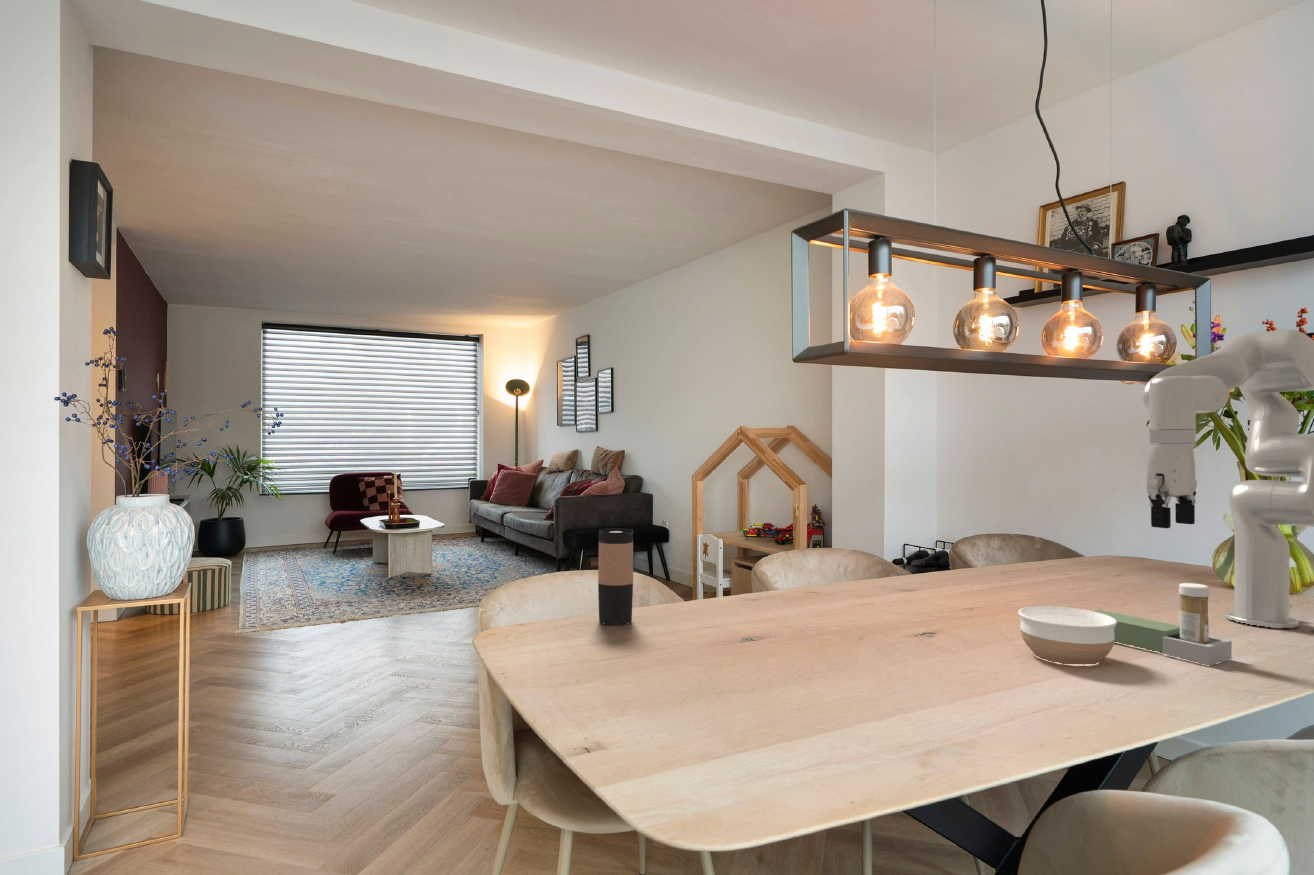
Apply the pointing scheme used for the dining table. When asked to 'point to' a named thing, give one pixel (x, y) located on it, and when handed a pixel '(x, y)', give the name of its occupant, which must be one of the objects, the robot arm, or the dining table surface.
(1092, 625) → the bowl
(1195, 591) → the sprinkles bottle
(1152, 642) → the sliding drawer box
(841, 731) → the dining table surface
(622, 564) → the travel mug
